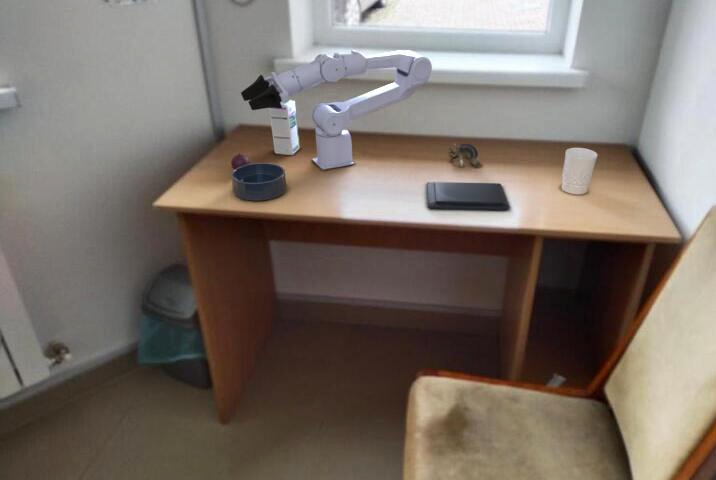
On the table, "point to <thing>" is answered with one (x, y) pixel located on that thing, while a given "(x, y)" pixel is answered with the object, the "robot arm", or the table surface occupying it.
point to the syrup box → (285, 128)
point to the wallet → (466, 196)
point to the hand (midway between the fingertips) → (246, 101)
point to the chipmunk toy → (465, 154)
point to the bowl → (258, 181)
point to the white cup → (578, 170)
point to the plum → (239, 161)
